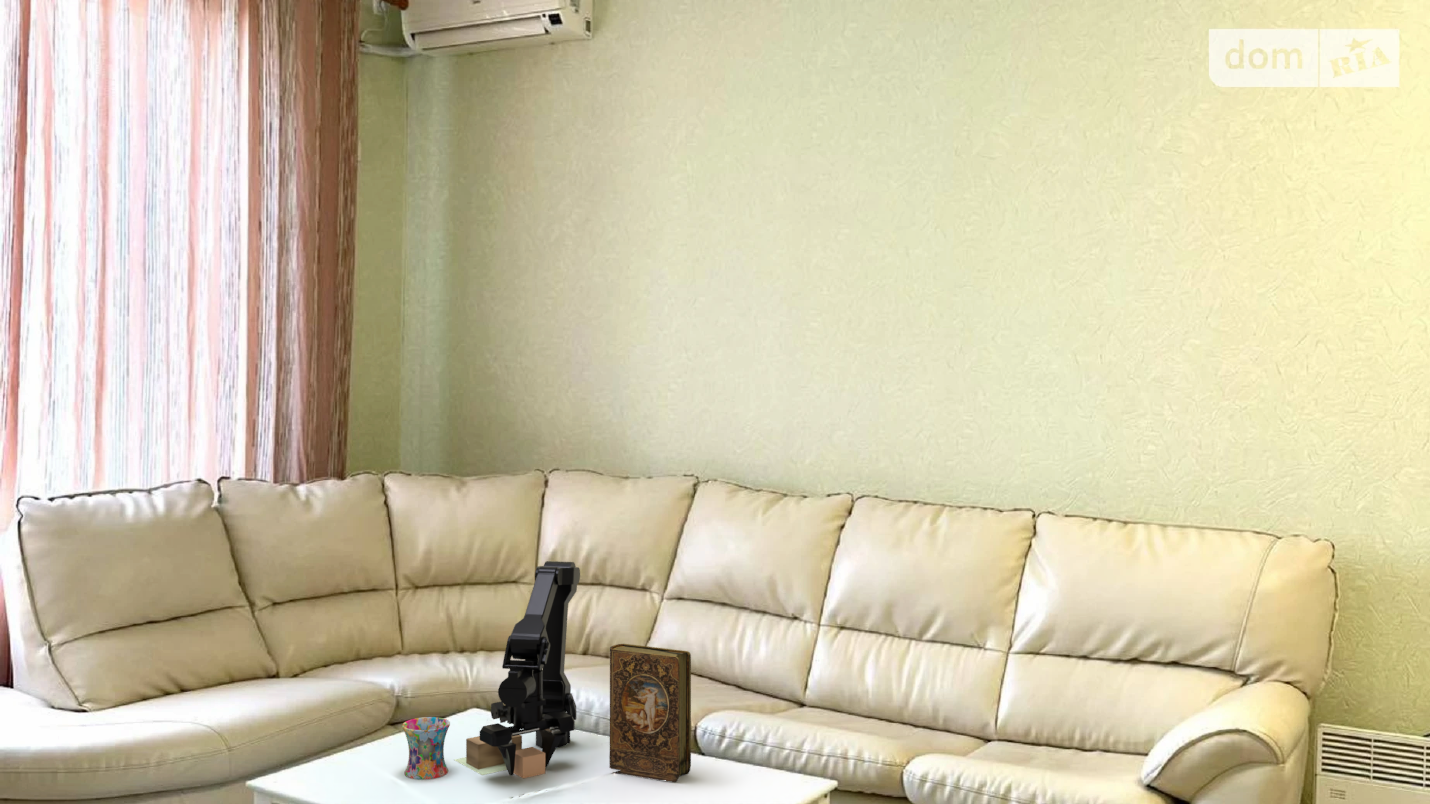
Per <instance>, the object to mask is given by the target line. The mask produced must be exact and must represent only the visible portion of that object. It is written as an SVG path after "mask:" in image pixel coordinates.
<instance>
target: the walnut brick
mask: <svg viewBox="0 0 1430 804" xmlns="http://www.w3.org/2000/svg"><path fill="white" fill-rule="evenodd" d="M465 742H466V744H465V745H466V746H465V749H466V750H465V751H466V753H465V754H466V755H465V757H466V763H467V764H469V765H471V766H473V767H474V768H476V769H483V768H487V767H492V766H496V765H501V764H505V762H504V760H503V757H502V754H501V752H500V750H499V749H498V747H494V746H491V745H489V744H487V743H485V742H483V741H481V740H480V735H478V736H474V737H468V738H466V740H465ZM512 743H514V744H516V750H519V749H523V736H522V734H521V735H516V736H512Z"/></svg>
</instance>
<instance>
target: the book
mask: <svg viewBox="0 0 1430 804" xmlns="http://www.w3.org/2000/svg"><path fill="white" fill-rule="evenodd" d="M691 699H692V655H691V652H690V651H689V650H681V649H671V648H663V647H655V646H647V645H638V644H629V643H618V644H614V645H612V646H610V647H609V768H610V769H611V770H615V771H612V773H613V774H620V775H624V776H629V777H630V776H631V777H638V778H642V777H643V779H648V778H650V780H656V781H660V780H666V781H665V782H668V781H672V782H671V783H676V782H678V781H679V779H680V777H682V776H685V775H688V774H689V773H690V772H691V766H692V725H691V724H692V700H691Z"/></svg>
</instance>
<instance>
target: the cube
mask: <svg viewBox="0 0 1430 804" xmlns="http://www.w3.org/2000/svg"><path fill="white" fill-rule="evenodd" d="M544 774H546V768H545V753H544V752H542V750H540V749H538V748H536V747H535V746H528V747H525V748H522V749H519V750H516V753H515V767H514V773H513V775H516V776H517V777H520V778H521V779H526V778H531V777H536V776H540V775H544Z"/></svg>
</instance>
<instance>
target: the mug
mask: <svg viewBox="0 0 1430 804" xmlns="http://www.w3.org/2000/svg"><path fill="white" fill-rule="evenodd" d="M450 725H451V721H449V719H447V718H444V717H438V716H436V717H435V716H425V717H424V716H423V717H416V718H412V719H408V720H406V721H404V722H403V723H402V725H401V727H402V729H403V733H404V734H405V738H406V739H407V740H406V741H407V744H408V745H407V746H408V761H407V766H406V767H405V770H404V775H405V777H406V778H408V779H412V780H421V781H423V780H433V779H438V778H441V777H444V776H445V775H447V774H448V773H449V768H448V766H447V764H446V761H445V753H444V747H445V740H446V736H447V733H448V729H449V728H450Z"/></svg>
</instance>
